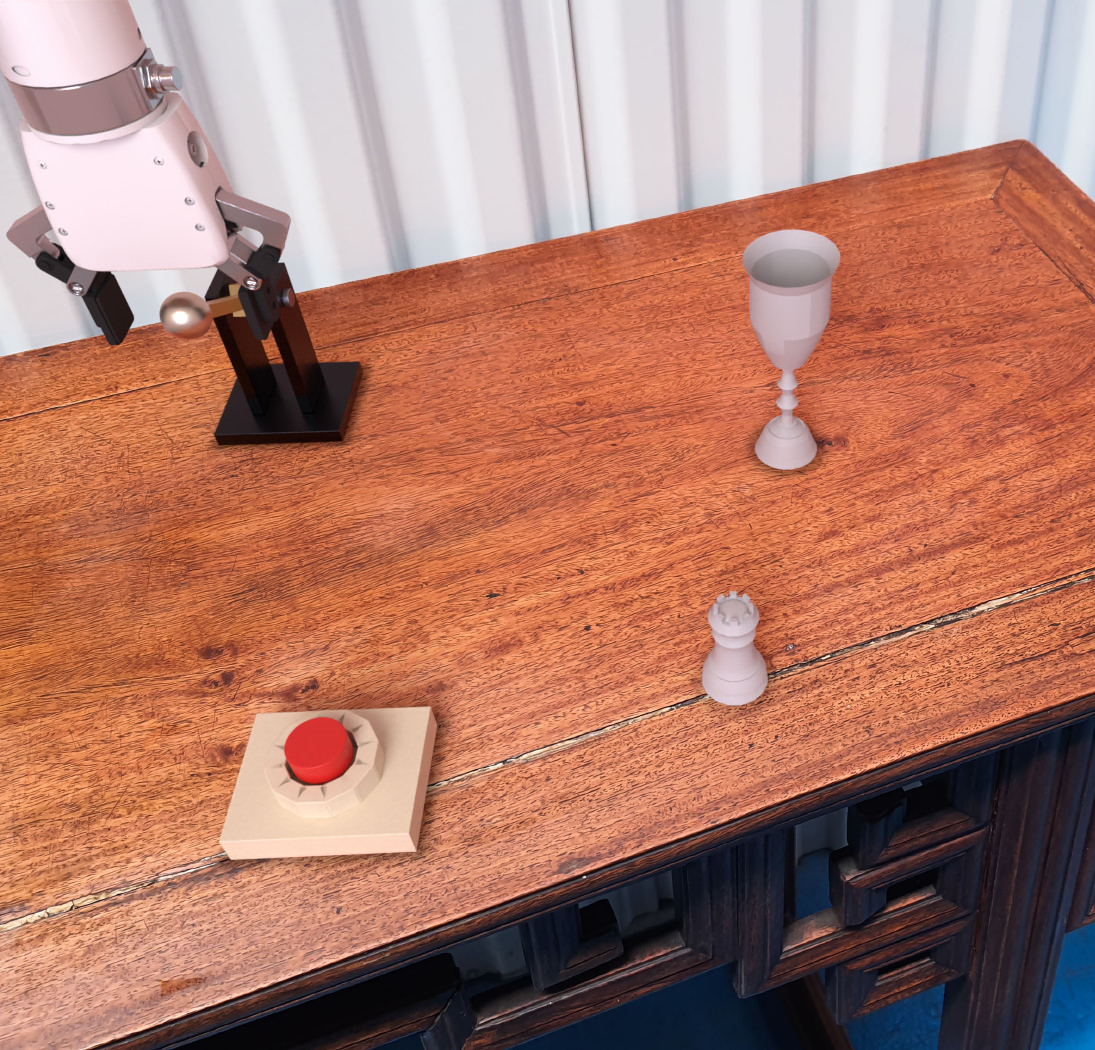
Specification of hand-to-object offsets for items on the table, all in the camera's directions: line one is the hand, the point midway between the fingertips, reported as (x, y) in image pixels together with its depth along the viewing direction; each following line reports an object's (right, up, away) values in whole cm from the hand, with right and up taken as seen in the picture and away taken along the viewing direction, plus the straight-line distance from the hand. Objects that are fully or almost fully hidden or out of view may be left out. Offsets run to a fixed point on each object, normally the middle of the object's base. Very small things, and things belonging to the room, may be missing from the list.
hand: (195, 330), depth 79 cm
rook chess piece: (+37, -24, -1) cm, 44 cm away
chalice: (+41, -7, +15) cm, 44 cm away
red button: (+12, -27, -9) cm, 31 cm away
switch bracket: (-1, -3, +19) cm, 19 cm away
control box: (+12, -30, -7) cm, 33 cm away
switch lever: (0, +1, +5) cm, 5 cm away
